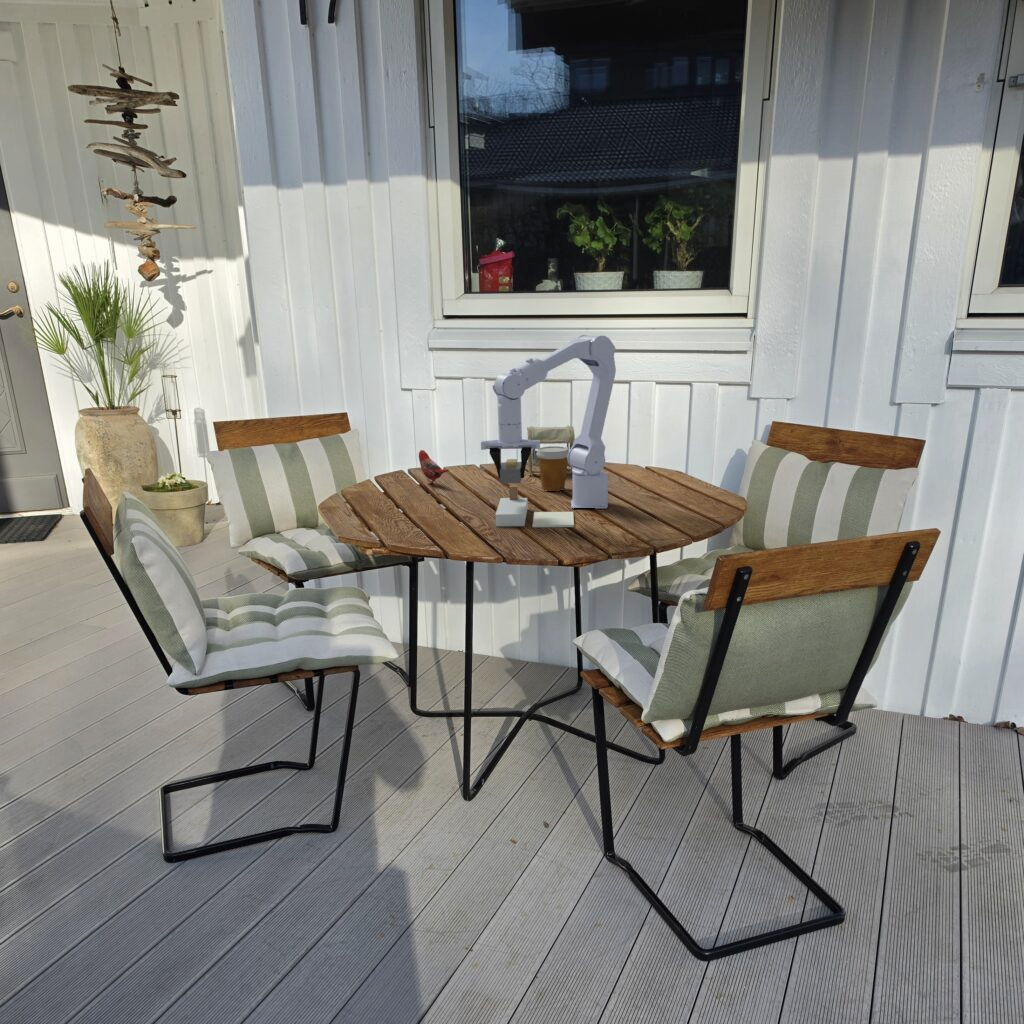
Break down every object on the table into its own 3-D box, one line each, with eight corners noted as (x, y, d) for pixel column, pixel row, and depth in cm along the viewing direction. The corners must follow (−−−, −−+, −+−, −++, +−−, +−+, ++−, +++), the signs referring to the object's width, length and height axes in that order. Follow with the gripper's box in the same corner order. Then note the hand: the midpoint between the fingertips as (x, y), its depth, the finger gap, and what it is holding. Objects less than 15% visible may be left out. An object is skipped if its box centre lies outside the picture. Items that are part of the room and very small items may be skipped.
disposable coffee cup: (575, 491, 215) (575, 450, 212) (545, 495, 212) (544, 453, 208) (561, 484, 223) (560, 444, 220) (531, 488, 220) (530, 447, 217)
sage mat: (573, 513, 192) (573, 511, 192) (573, 526, 181) (573, 524, 180) (534, 513, 193) (534, 512, 193) (532, 527, 181) (532, 525, 181)
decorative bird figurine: (424, 479, 235) (422, 448, 232) (454, 489, 221) (452, 456, 218) (415, 481, 233) (414, 449, 230) (445, 491, 219) (444, 457, 216)
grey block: (522, 475, 191) (521, 458, 190) (520, 483, 184) (520, 465, 182) (502, 476, 192) (502, 458, 191) (500, 483, 184) (499, 465, 183)
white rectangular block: (527, 508, 198) (527, 484, 196) (524, 526, 182) (523, 500, 181) (501, 509, 198) (500, 485, 197) (495, 526, 183) (494, 500, 181)
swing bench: (528, 476, 235) (527, 430, 231) (527, 470, 244) (526, 425, 240) (575, 475, 235) (575, 428, 231) (572, 469, 244) (572, 424, 240)
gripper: (478, 426, 181) (480, 481, 184) (538, 425, 180) (539, 480, 183) (481, 421, 187) (483, 475, 191) (539, 420, 186) (540, 474, 190)
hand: (511, 477), depth 188 cm, fingers closed on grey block, 5 cm apart
